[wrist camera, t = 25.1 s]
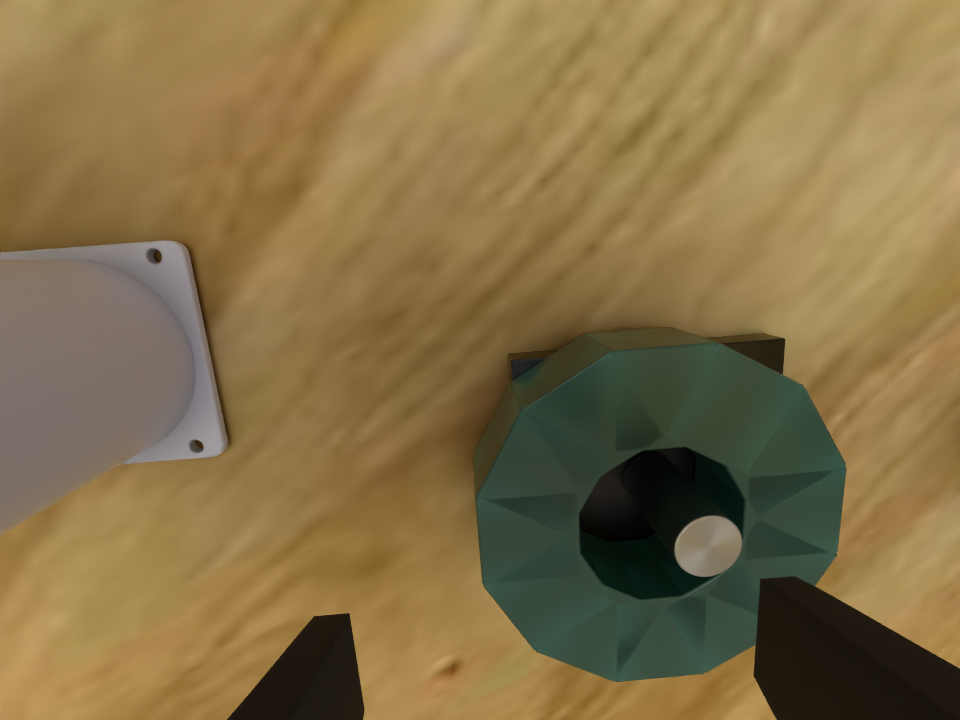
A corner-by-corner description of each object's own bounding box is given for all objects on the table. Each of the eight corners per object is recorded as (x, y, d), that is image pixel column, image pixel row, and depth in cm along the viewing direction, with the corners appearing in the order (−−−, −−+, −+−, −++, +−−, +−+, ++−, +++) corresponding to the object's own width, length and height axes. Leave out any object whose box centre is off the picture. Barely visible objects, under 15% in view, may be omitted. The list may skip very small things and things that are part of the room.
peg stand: (521, 580, 20) (544, 703, 14) (507, 353, 17) (528, 395, 12) (750, 559, 20) (859, 673, 14) (764, 333, 18) (900, 365, 12)
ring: (486, 621, 19) (491, 694, 15) (463, 343, 16) (463, 362, 13) (766, 596, 19) (827, 663, 16) (786, 316, 16) (863, 330, 13)
